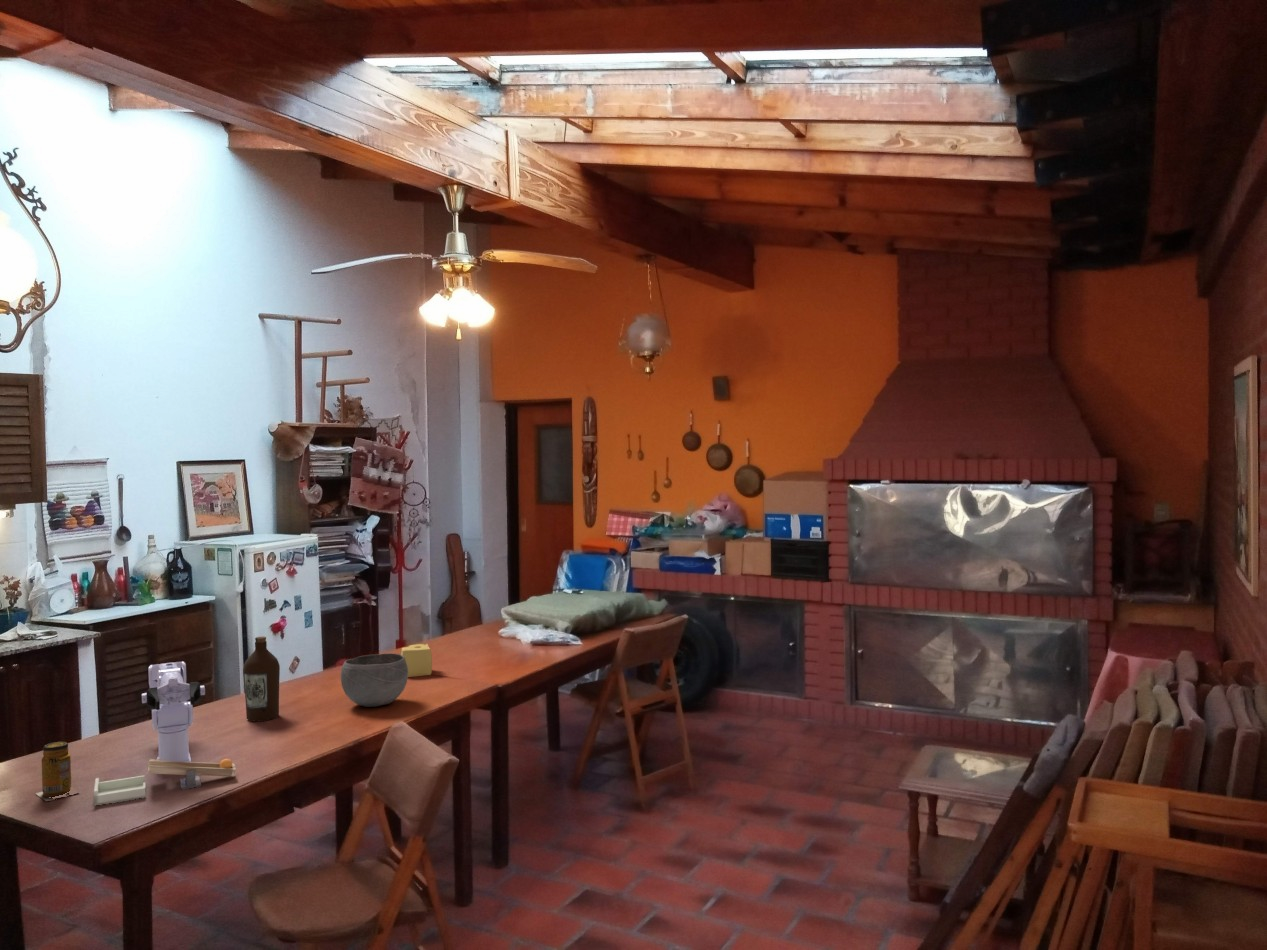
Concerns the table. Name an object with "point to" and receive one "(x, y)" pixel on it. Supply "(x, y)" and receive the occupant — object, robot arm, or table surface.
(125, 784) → the dish
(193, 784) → the pivot
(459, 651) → the table surface
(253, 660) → the olive oil
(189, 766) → the lever
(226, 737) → the table surface
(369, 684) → the bowl
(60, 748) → the condiment
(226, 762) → the ball
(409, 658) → the cheese
